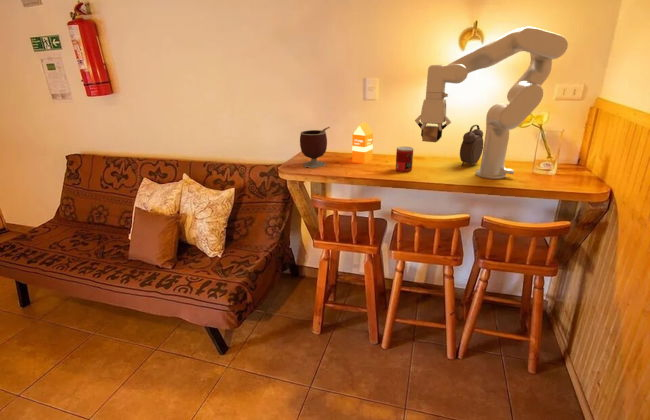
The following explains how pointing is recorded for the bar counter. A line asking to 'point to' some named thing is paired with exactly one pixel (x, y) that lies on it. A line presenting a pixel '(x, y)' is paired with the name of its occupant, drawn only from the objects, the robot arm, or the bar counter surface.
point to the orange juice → (362, 144)
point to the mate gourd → (313, 146)
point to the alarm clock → (471, 146)
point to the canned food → (404, 159)
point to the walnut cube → (430, 133)
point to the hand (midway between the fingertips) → (431, 138)
